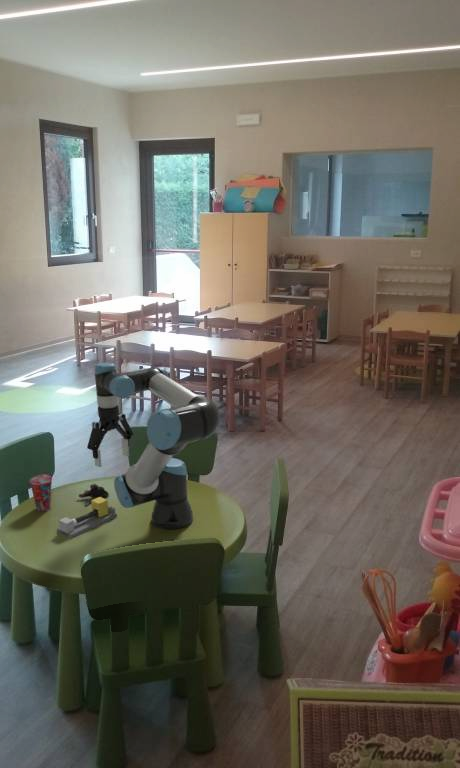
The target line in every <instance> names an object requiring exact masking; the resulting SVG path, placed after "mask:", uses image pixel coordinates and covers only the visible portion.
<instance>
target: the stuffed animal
mask: <svg viewBox="0 0 460 768" xmlns="http://www.w3.org/2000/svg"><path fill="white" fill-rule="evenodd" d="M89 487H90V488H89V489H90V490H88V489H85V490H84V492H83V493H79V494H78V497H79V498H82V499H83V498H86V500H89V501H87V502H86V503H85V505H84V506H85V507H88V506H90V505H92V503H91V500H94V499H96V498H98V497H102V498H104V499H106V500H107V498H109V492H108V491H107V490H105V488H104V487H103V486H99V485H98V484H96V483H94V482H93V483H91V484H90V485H89ZM89 497H90V498H89Z"/></svg>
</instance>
